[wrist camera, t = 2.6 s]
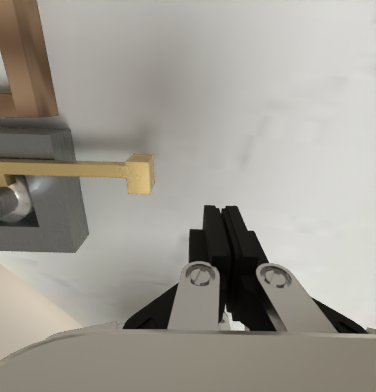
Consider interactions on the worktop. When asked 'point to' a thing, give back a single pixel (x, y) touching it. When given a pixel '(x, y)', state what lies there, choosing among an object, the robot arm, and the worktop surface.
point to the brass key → (85, 170)
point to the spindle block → (45, 195)
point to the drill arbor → (15, 200)
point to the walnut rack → (25, 62)
